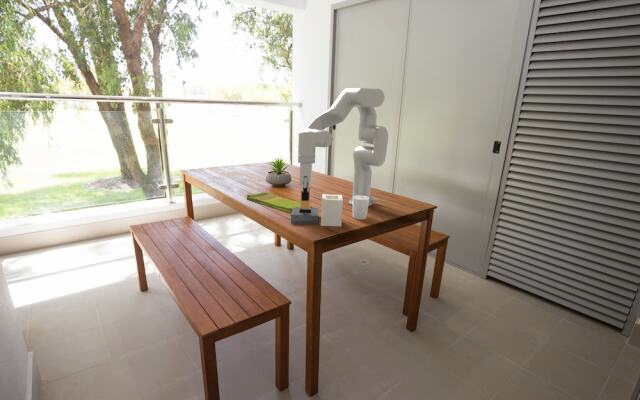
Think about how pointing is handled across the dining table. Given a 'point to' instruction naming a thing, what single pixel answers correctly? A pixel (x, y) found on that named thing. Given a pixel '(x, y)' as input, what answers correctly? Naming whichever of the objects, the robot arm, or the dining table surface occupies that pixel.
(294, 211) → the lower socket plate
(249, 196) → the dish towel
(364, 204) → the white cup
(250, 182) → the dining table surface
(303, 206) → the plug
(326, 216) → the upper stand
